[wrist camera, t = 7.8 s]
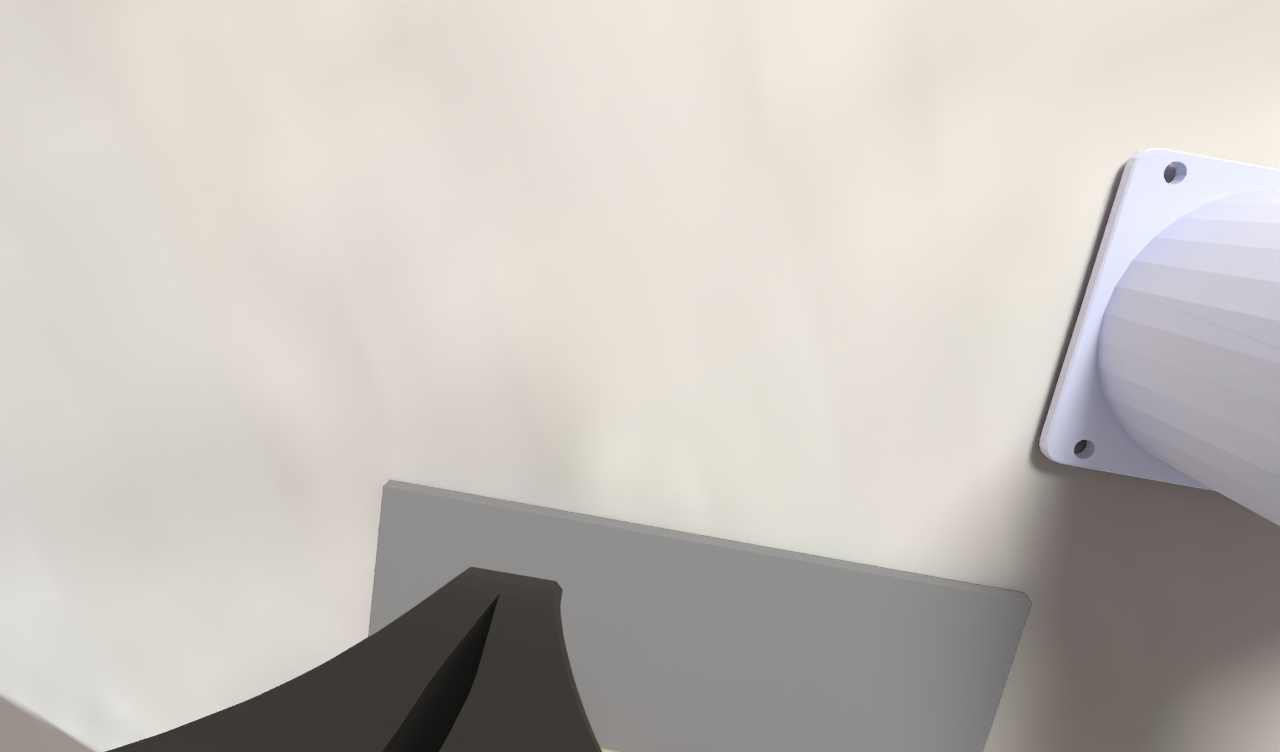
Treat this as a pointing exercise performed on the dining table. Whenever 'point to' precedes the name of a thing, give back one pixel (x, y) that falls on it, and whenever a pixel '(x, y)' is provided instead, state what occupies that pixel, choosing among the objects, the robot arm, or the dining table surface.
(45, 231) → the dining table surface
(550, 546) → the rubber mat
